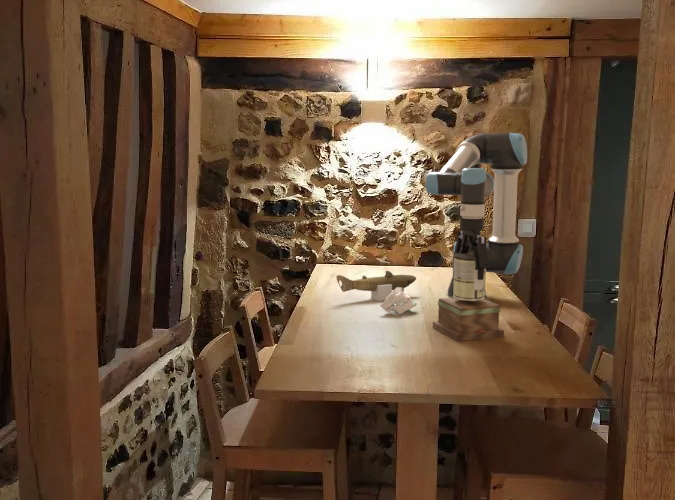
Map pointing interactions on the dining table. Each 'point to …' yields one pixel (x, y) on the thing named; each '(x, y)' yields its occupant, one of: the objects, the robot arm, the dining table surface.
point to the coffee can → (466, 278)
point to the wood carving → (377, 284)
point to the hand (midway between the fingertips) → (469, 285)
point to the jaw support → (398, 302)
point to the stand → (468, 319)
